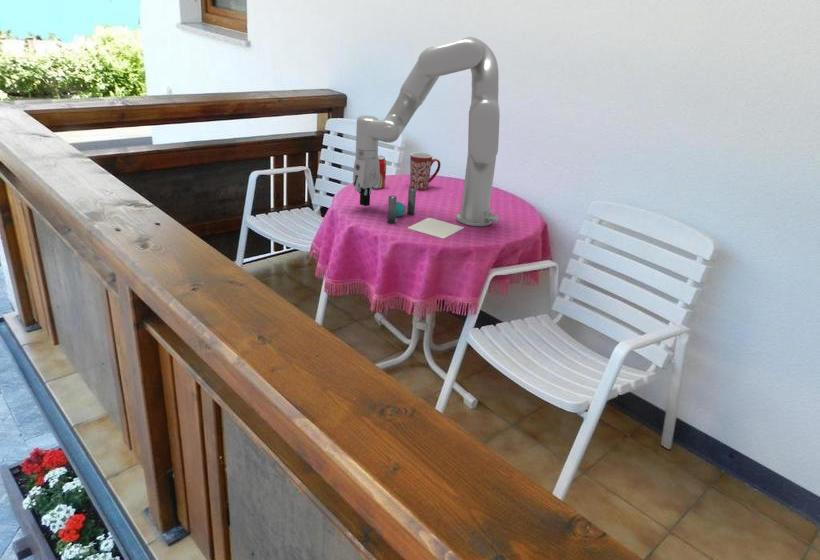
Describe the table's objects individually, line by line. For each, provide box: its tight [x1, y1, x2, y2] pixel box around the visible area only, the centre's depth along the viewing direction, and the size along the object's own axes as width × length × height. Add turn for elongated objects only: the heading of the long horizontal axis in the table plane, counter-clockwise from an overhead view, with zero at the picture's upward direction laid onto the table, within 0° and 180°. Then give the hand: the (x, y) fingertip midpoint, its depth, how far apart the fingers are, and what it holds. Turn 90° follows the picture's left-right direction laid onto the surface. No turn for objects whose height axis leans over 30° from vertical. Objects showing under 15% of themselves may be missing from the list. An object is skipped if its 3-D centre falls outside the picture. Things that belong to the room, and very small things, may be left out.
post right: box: [406, 188, 417, 216], centre depth 207 cm, size 3×3×9 cm
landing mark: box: [406, 217, 465, 240], centre depth 198 cm, size 14×14×1 cm
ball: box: [395, 201, 406, 217], centre depth 205 cm, size 5×5×5 cm
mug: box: [409, 151, 441, 191], centre depth 237 cm, size 13×9×14 cm
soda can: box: [372, 155, 387, 190], centre depth 233 cm, size 7×7×12 cm
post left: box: [386, 195, 397, 225], centre depth 198 cm, size 3×3×9 cm
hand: (364, 204), depth 210 cm, fingers closed
